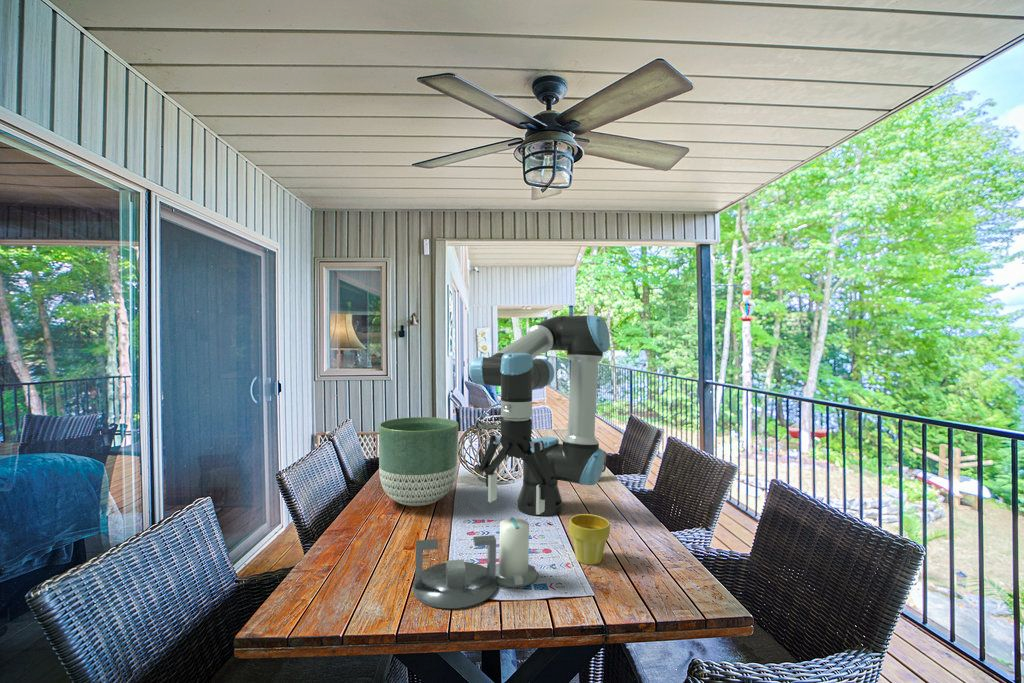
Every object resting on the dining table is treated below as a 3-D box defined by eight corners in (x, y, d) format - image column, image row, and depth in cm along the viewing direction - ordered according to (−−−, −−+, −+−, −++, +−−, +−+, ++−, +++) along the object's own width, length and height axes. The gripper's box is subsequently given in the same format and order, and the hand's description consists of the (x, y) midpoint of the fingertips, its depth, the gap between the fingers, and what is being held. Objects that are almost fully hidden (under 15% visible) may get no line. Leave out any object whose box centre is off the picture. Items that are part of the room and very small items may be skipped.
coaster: (530, 562, 116) (530, 559, 116) (541, 585, 106) (542, 581, 106) (487, 566, 114) (487, 562, 114) (494, 589, 103) (494, 586, 103)
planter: (360, 508, 151) (362, 426, 151) (407, 485, 175) (409, 414, 175) (431, 522, 141) (432, 434, 141) (470, 495, 166) (471, 420, 166)
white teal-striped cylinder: (495, 561, 115) (495, 514, 115) (522, 559, 116) (523, 512, 116) (503, 586, 104) (504, 533, 103) (533, 583, 105) (534, 531, 105)
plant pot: (611, 553, 122) (612, 516, 122) (606, 571, 112) (607, 531, 112) (573, 547, 126) (573, 511, 126) (564, 564, 116) (565, 525, 116)
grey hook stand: (489, 562, 116) (490, 521, 116) (504, 604, 98) (505, 556, 98) (413, 568, 112) (413, 526, 112) (412, 613, 94) (413, 563, 94)
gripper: (465, 414, 113) (465, 500, 114) (555, 426, 100) (554, 523, 100) (483, 410, 120) (483, 491, 120) (570, 421, 106) (569, 512, 107)
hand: (515, 506), depth 110 cm, fingers open, 13 cm apart
